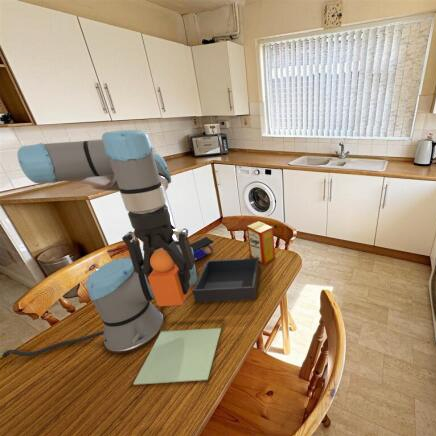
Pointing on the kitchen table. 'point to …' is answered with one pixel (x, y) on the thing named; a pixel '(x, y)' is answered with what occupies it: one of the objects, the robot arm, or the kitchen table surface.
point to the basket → (227, 280)
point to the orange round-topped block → (165, 280)
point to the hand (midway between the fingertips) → (173, 291)
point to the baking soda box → (261, 241)
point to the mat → (180, 356)
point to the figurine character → (205, 246)
